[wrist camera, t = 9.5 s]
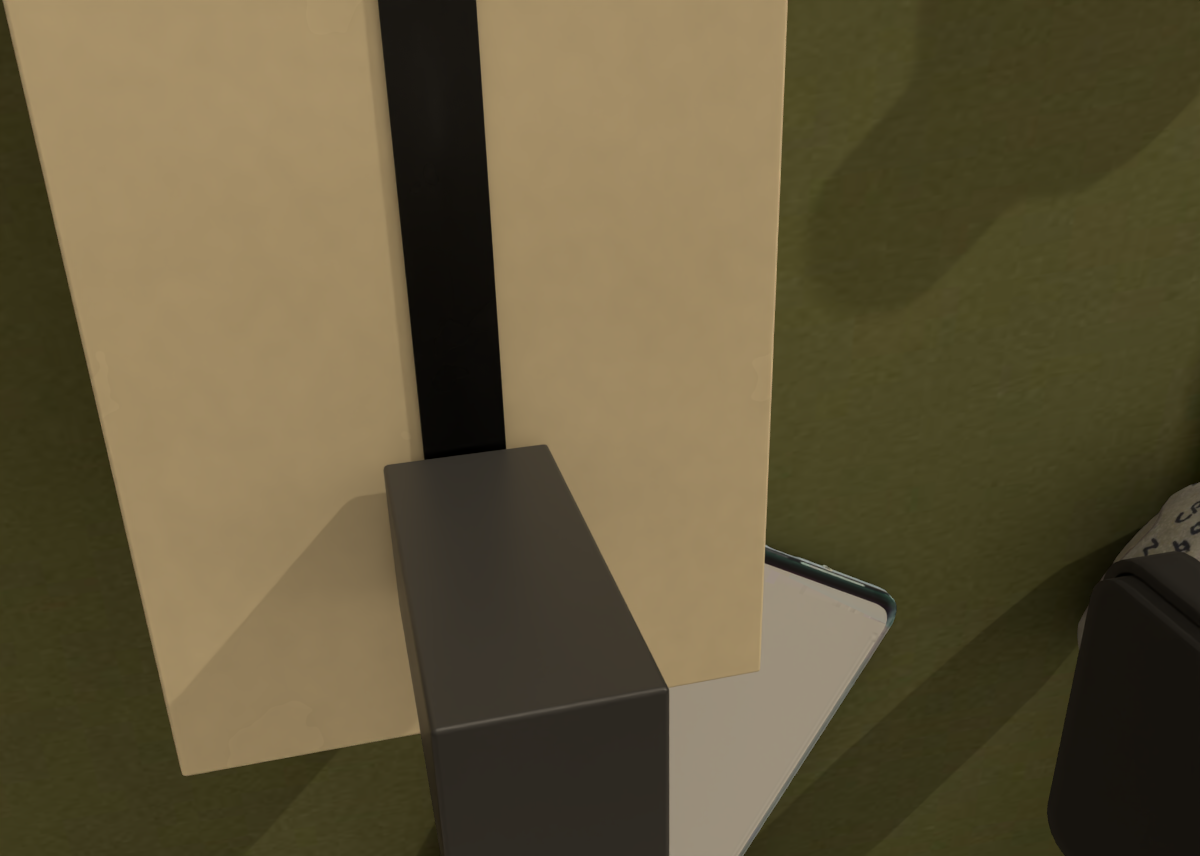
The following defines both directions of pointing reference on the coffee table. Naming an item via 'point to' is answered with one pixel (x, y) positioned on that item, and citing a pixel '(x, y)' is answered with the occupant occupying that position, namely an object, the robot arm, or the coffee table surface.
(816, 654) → the smartphone
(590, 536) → the slider
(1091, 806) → the robot arm
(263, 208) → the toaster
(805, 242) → the coffee table surface
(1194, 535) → the fossil
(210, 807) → the coffee table surface
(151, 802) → the coffee table surface
